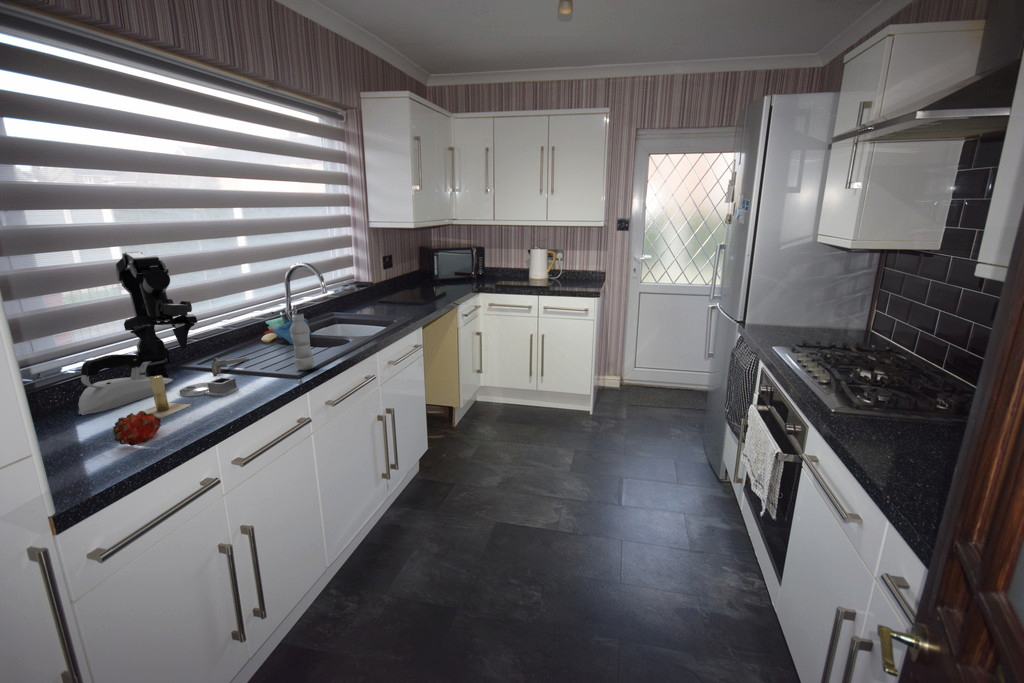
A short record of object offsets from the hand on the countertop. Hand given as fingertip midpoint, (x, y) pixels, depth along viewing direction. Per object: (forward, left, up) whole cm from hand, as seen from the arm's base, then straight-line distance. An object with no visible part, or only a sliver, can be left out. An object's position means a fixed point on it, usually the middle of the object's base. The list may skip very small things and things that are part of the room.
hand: (170, 350), depth 149 cm
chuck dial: (-1, +11, -17) cm, 20 cm away
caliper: (-15, +36, -18) cm, 43 cm away
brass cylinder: (-1, -5, -16) cm, 17 cm away
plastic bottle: (+15, +38, -17) cm, 44 cm away
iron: (-21, 0, -17) cm, 28 cm away
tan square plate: (-1, -5, -17) cm, 18 cm away
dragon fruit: (+11, -22, -17) cm, 30 cm away
